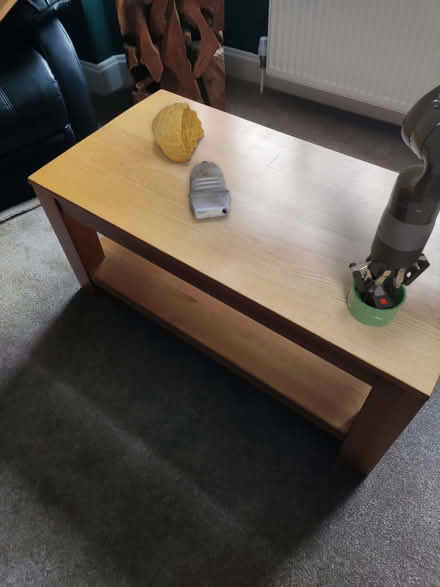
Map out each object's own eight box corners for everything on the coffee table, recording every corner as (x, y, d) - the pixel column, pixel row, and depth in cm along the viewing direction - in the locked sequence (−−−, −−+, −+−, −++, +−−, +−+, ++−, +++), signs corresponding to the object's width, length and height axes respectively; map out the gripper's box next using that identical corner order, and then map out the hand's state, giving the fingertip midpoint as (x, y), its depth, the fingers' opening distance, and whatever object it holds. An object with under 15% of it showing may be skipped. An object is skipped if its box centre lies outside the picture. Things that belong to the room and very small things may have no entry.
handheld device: (223, 165, 110) (223, 150, 106) (233, 219, 97) (233, 204, 94) (186, 169, 109) (184, 154, 106) (191, 224, 97) (189, 208, 93)
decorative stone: (132, 143, 113) (152, 116, 100) (162, 109, 119) (185, 78, 106) (169, 178, 117) (194, 156, 104) (197, 143, 123) (223, 117, 110)
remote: (360, 286, 82) (363, 277, 80) (375, 284, 82) (379, 275, 80) (374, 316, 77) (377, 308, 75) (390, 314, 78) (394, 305, 76)
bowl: (387, 283, 84) (394, 266, 80) (406, 322, 79) (415, 306, 75) (340, 290, 84) (345, 273, 80) (356, 330, 78) (362, 314, 74)
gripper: (367, 255, 63) (345, 321, 77) (458, 242, 64) (420, 309, 78) (350, 221, 68) (332, 288, 81) (435, 209, 68) (403, 278, 82)
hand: (375, 298), depth 79 cm, fingers closed on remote, 3 cm apart
